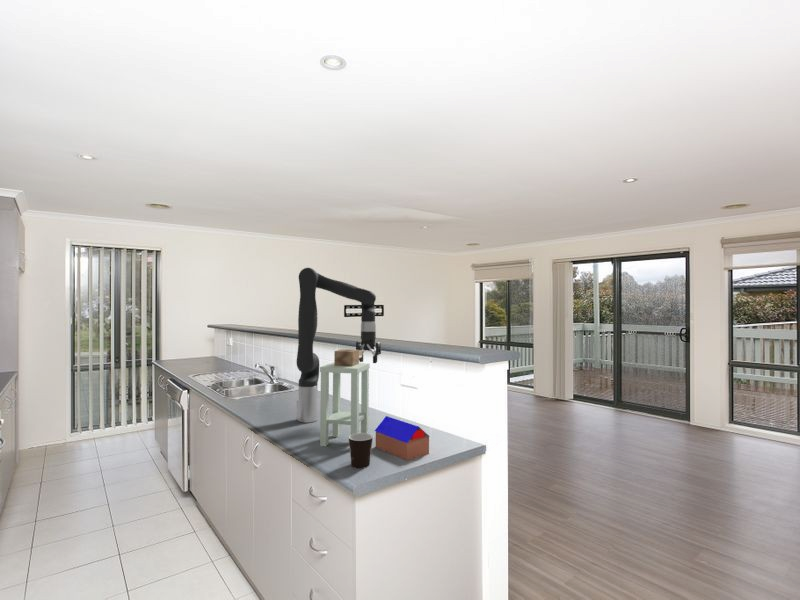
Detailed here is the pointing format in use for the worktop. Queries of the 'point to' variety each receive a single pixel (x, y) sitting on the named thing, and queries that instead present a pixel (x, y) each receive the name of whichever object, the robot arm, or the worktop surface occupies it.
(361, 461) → the dark brown cup
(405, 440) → the house
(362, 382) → the tall stand
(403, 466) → the worktop surface
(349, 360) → the cube on tan board
